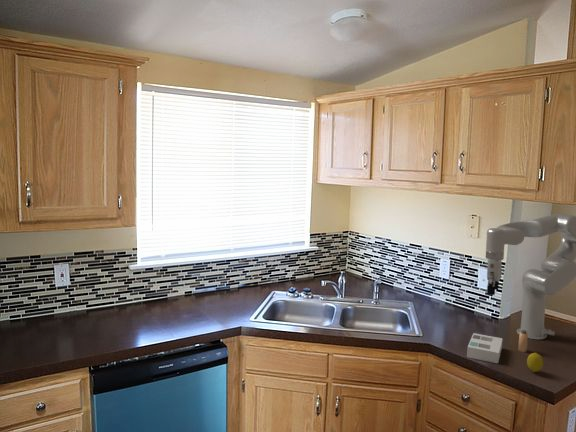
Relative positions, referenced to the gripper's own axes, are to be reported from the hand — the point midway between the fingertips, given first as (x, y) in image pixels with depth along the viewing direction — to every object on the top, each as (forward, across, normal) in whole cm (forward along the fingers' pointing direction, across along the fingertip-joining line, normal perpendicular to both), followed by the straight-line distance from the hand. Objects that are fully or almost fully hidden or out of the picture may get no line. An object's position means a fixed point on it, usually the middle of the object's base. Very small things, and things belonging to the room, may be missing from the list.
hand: (492, 291), depth 210 cm
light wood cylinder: (+22, -7, -14) cm, 27 cm away
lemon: (+22, -28, -21) cm, 41 cm away
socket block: (+22, -19, -1) cm, 29 cm away
